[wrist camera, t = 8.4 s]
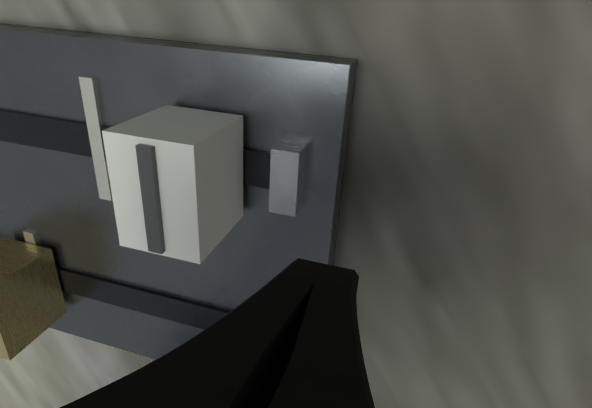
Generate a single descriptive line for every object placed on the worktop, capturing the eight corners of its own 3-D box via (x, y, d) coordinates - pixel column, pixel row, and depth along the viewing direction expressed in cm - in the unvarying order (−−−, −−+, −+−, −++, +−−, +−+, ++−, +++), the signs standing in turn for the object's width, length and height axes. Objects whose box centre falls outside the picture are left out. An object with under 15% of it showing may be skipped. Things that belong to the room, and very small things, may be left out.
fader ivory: (243, 215, 16) (197, 267, 13) (175, 202, 17) (116, 248, 14) (243, 115, 15) (190, 147, 11) (167, 105, 15) (97, 132, 12)
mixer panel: (319, 381, 22) (306, 423, 20) (10, 294, 26) (-27, 320, 24) (357, 59, 15) (343, 69, 12) (-78, 15, 19) (-143, 17, 17)
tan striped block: (67, 311, 22) (6, 363, 19) (21, 299, 23) (-45, 346, 20) (51, 249, 21) (-19, 294, 17) (2, 237, 21) (-73, 278, 18)
